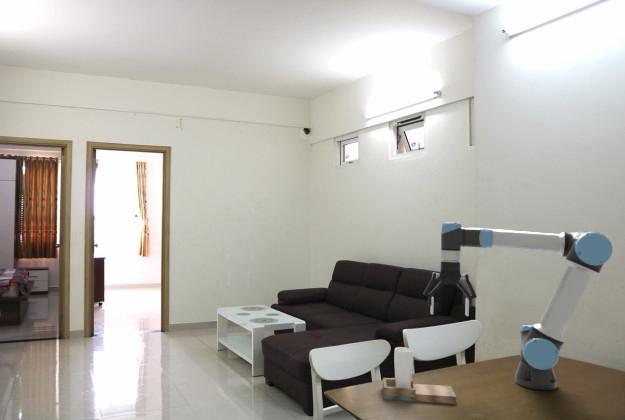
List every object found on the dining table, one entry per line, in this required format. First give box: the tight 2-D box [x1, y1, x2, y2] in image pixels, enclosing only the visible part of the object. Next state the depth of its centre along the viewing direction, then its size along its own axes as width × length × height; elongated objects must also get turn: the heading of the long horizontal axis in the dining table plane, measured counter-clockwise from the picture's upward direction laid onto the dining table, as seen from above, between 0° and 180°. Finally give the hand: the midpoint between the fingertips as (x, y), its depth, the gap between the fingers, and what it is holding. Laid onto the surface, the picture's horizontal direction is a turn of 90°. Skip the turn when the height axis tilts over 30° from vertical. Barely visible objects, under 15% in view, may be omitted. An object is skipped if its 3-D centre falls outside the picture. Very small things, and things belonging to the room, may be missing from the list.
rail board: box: [382, 377, 457, 405], centre depth 177 cm, size 25×11×4 cm, turn 84°
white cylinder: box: [393, 346, 414, 388], centre depth 178 cm, size 7×7×15 cm
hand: (449, 314), depth 194 cm, fingers open, 13 cm apart
